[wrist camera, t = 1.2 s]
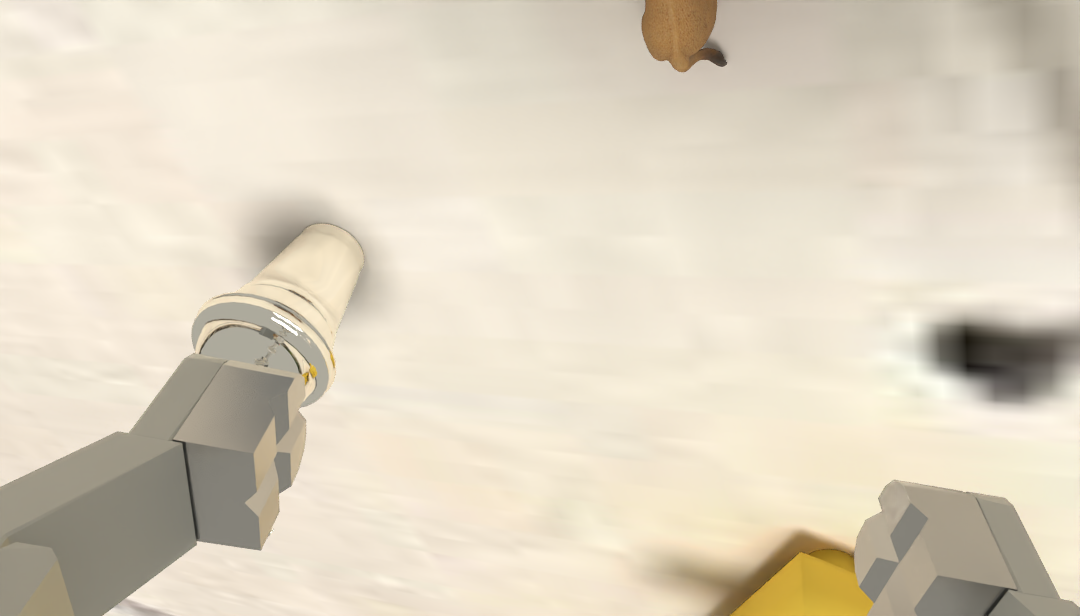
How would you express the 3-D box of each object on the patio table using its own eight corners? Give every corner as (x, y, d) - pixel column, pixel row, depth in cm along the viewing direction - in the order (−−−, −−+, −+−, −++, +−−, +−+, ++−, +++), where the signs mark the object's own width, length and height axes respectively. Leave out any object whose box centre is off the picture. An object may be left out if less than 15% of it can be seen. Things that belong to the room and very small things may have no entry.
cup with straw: (336, 177, 50) (158, 413, 35) (422, 284, 54) (296, 535, 39) (245, 225, 54) (51, 455, 39) (332, 321, 58) (186, 562, 43)
